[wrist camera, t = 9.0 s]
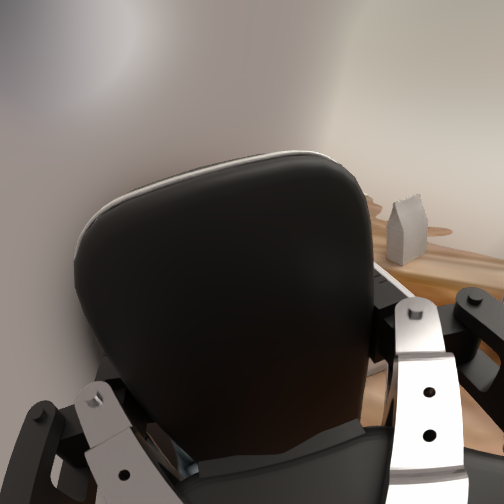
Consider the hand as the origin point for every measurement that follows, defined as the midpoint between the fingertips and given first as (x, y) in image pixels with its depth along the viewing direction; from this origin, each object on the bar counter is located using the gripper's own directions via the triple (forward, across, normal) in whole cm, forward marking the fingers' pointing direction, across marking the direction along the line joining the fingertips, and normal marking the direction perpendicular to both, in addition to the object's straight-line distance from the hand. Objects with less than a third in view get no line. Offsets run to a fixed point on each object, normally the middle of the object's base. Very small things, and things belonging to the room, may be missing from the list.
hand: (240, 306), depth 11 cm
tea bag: (+26, -29, +18) cm, 43 cm away
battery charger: (-2, 0, +6) cm, 7 cm away
